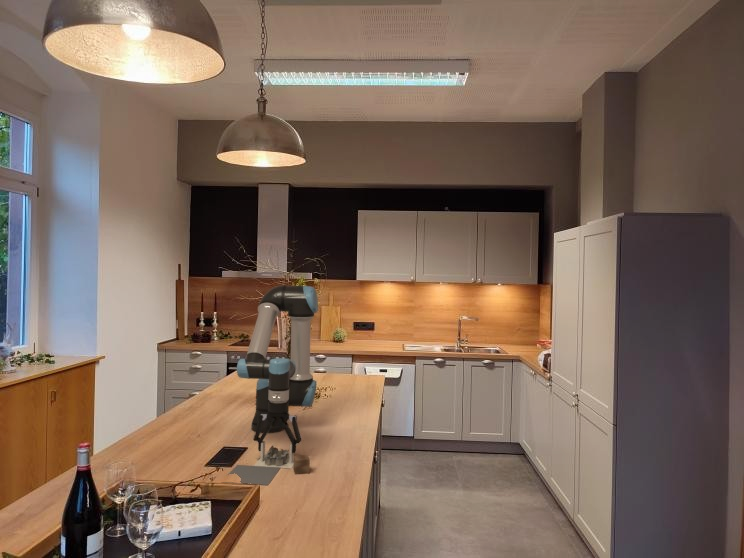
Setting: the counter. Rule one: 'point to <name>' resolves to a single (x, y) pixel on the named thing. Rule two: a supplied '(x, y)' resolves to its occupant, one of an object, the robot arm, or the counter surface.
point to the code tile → (285, 465)
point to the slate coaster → (255, 474)
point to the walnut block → (301, 464)
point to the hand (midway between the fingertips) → (276, 460)
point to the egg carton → (276, 456)
